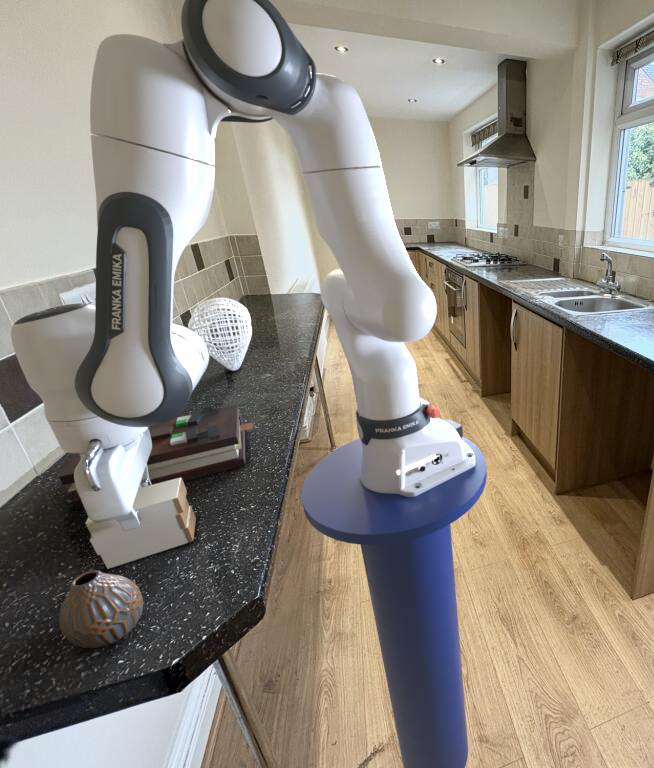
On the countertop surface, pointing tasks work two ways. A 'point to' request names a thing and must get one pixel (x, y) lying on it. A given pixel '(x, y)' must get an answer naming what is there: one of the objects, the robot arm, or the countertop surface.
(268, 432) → the countertop surface
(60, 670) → the countertop surface
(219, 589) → the countertop surface
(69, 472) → the decorative book
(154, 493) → the cream block
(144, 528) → the beige rectangular block
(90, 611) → the vase
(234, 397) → the countertop surface
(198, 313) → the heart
